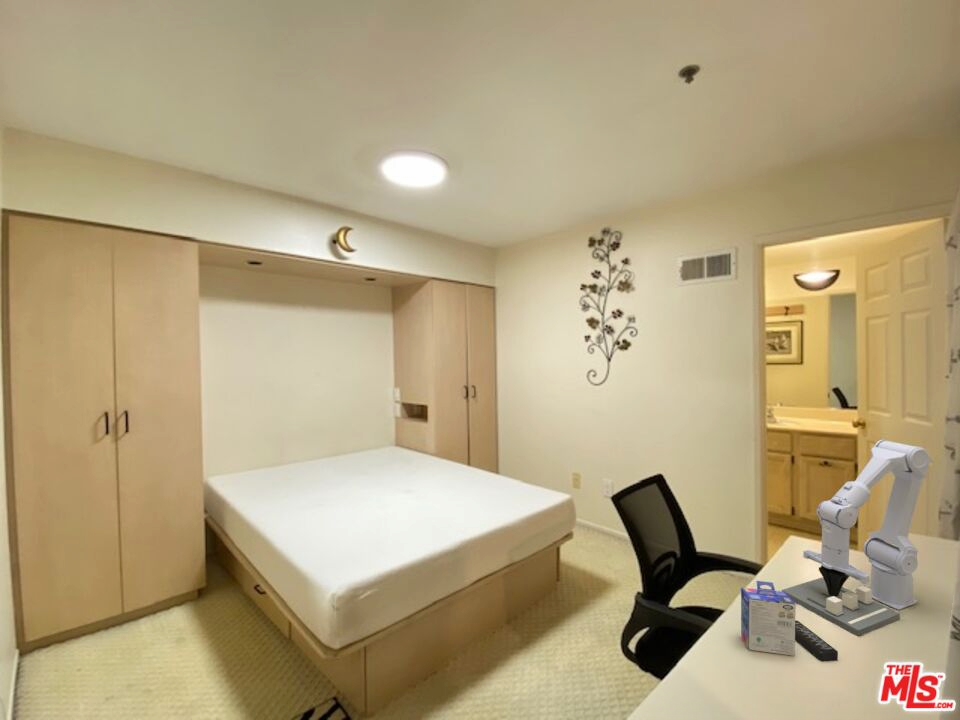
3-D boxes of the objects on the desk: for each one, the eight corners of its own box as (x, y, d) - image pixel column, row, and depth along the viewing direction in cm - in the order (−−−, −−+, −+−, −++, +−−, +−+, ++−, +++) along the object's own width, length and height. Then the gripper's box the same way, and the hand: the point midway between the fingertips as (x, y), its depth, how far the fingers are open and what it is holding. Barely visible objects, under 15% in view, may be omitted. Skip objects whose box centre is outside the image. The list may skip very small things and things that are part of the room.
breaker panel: (821, 582, 125) (821, 577, 124) (899, 619, 108) (900, 613, 108) (781, 595, 118) (781, 589, 118) (858, 636, 101) (858, 630, 101)
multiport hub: (820, 663, 93) (821, 653, 93) (780, 629, 104) (781, 620, 104) (838, 661, 94) (839, 651, 93) (797, 628, 104) (797, 619, 104)
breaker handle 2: (860, 596, 115) (860, 584, 115) (873, 602, 112) (874, 590, 112) (853, 598, 114) (854, 587, 114) (867, 604, 111) (867, 593, 111)
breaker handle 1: (831, 606, 110) (831, 594, 110) (844, 613, 107) (844, 601, 107) (823, 609, 109) (824, 597, 109) (837, 616, 106) (837, 604, 106)
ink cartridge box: (784, 640, 100) (785, 581, 99) (796, 657, 94) (798, 594, 94) (738, 634, 102) (740, 576, 101) (748, 650, 96) (750, 589, 96)
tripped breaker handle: (846, 601, 112) (846, 589, 112) (859, 608, 110) (860, 596, 109) (839, 604, 111) (839, 592, 111) (852, 610, 108) (853, 598, 108)
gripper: (797, 537, 119) (795, 584, 119) (858, 562, 105) (856, 614, 106) (812, 533, 121) (811, 579, 122) (874, 557, 108) (873, 608, 108)
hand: (833, 595), depth 114 cm, fingers closed
